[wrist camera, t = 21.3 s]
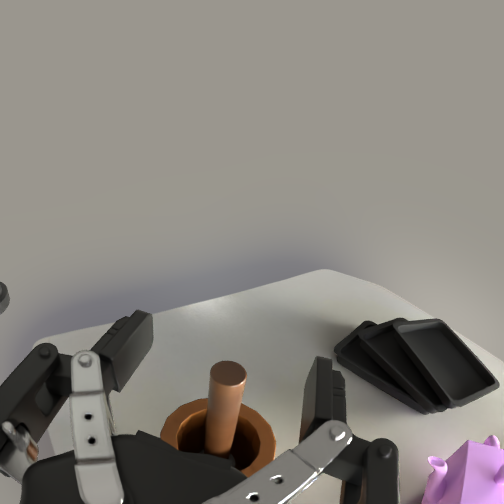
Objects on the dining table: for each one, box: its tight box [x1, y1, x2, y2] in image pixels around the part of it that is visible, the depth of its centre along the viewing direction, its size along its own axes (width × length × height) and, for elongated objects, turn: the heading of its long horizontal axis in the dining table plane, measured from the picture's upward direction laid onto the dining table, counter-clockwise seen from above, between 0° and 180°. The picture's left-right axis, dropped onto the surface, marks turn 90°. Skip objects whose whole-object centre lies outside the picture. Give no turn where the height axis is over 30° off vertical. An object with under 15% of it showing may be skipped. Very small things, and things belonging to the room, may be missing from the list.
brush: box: [199, 361, 247, 468], centre depth 19 cm, size 3×3×18 cm
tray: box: [334, 318, 500, 414], centre depth 41 cm, size 30×23×5 cm
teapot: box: [421, 435, 504, 504], centre depth 15 cm, size 15×13×11 cm
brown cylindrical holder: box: [160, 398, 276, 478], centre depth 21 cm, size 8×8×11 cm
